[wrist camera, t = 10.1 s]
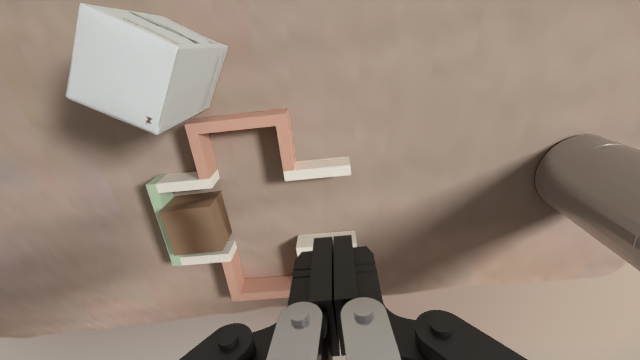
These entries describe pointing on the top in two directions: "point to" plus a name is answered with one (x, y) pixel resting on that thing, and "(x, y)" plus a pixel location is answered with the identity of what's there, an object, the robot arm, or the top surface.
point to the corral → (208, 177)
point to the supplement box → (142, 67)
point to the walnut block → (196, 223)
